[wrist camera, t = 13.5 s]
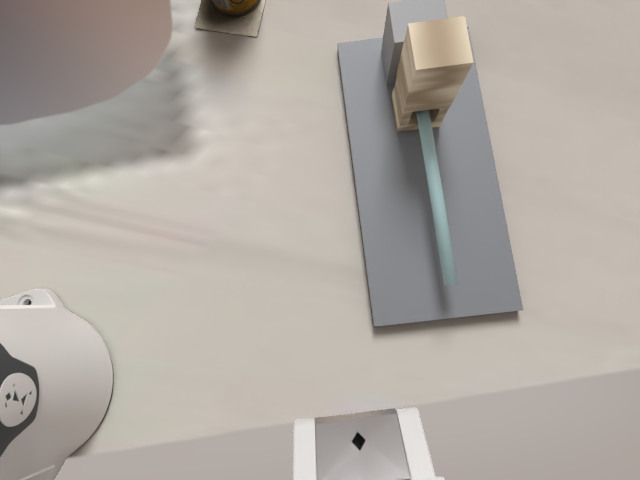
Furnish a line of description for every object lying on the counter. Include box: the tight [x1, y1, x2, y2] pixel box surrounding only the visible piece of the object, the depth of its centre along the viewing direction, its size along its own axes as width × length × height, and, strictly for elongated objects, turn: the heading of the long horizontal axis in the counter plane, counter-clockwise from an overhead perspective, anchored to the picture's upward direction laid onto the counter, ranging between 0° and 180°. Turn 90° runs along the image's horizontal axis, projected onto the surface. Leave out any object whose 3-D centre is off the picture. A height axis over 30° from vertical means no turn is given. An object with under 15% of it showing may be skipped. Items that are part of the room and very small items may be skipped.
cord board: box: [338, 0, 523, 327], centre depth 40 cm, size 14×30×8 cm, turn 6°
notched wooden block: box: [392, 16, 474, 132], centre depth 38 cm, size 4×4×11 cm
